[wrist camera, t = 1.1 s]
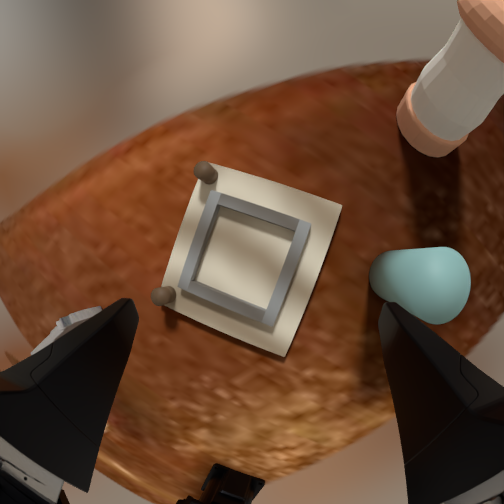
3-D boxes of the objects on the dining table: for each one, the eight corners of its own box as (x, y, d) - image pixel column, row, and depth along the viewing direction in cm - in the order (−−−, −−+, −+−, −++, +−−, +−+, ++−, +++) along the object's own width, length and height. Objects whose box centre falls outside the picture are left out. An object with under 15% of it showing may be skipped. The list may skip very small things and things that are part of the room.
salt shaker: (457, 166, 21) (582, 80, 2) (395, 146, 23) (494, 7, 4) (452, 108, 21) (538, 4, 2) (395, 88, 23) (452, -50, 4)
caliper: (103, 304, 28) (65, 312, 22) (107, 313, 28) (69, 322, 22) (33, 352, 31) (5, 361, 25) (36, 359, 31) (8, 368, 25)
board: (285, 353, 24) (282, 365, 21) (161, 300, 26) (146, 304, 24) (340, 207, 24) (345, 200, 21) (208, 165, 26) (197, 154, 23)
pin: (402, 305, 22) (455, 332, 13) (362, 290, 23) (398, 311, 13) (418, 260, 22) (478, 262, 12) (378, 243, 23) (423, 235, 13)
